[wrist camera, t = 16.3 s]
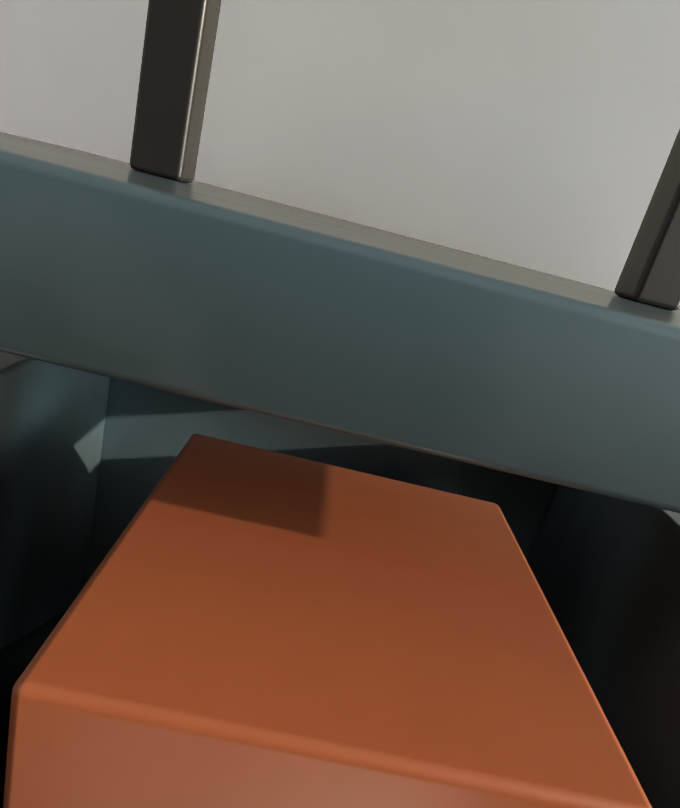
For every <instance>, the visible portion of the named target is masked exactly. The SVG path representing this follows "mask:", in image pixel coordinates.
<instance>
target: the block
mask: <svg viewBox="0 0 680 808" xmlns="http://www.w3.org/2000/svg"><path fill="white" fill-rule="evenodd" d="M3 808H652V807H651V805H650V803H649V801H648V799H647V797H646V795H645V793H644V791H643V789H642V787H641V785H640V783H639V781H638V779H637V777H636V775H635V773H634V771H633V769H632V767H631V765H630V763H629V761H628V759H627V757H626V755H625V753H624V751H623V749H622V747H621V745H620V743H619V742H618V740H617V738H616V736H615V734H614V732H613V730H612V728H611V726H610V724H609V722H608V720H607V718H606V716H605V714H604V712H603V710H602V708H601V706H600V704H599V702H598V700H597V698H596V696H595V694H594V692H593V690H592V688H591V686H590V684H589V682H588V680H587V678H586V677H585V675H584V673H583V671H582V669H581V667H580V665H579V663H578V661H577V659H576V657H575V655H574V653H573V651H572V649H571V647H570V645H569V643H568V641H567V639H566V637H565V635H564V633H563V631H562V629H561V627H560V625H559V623H558V621H557V619H556V617H555V615H554V613H553V612H552V610H551V608H550V606H549V604H548V602H547V600H546V598H545V596H544V594H543V592H542V590H541V588H540V586H539V584H538V582H537V580H536V578H535V576H534V574H533V572H532V570H531V568H530V566H529V564H528V562H527V560H526V558H525V556H524V554H523V552H522V550H521V548H520V547H519V545H518V543H517V541H516V539H515V537H514V535H513V533H512V531H511V529H510V527H509V525H508V523H507V521H506V519H505V517H504V515H503V513H502V511H501V509H500V507H499V506H498V505H497V504H495V503H492V502H487V501H483V500H479V499H475V498H470V497H466V496H462V495H457V494H453V493H449V492H445V491H440V490H436V489H432V488H428V487H423V486H419V485H415V484H410V483H406V482H402V481H398V480H393V479H389V478H385V477H380V476H376V475H372V474H368V473H363V472H359V471H355V470H351V469H346V468H342V467H338V466H333V465H329V464H325V463H321V462H316V461H312V460H308V459H303V458H299V457H295V456H291V455H286V454H282V453H278V452H274V451H269V450H265V449H261V448H256V447H252V446H248V445H244V444H239V443H235V442H231V441H226V440H222V439H218V438H214V437H209V436H205V435H201V434H193V435H192V436H191V437H190V439H189V440H188V441H187V443H186V444H185V446H184V447H183V448H182V450H181V451H180V453H179V454H178V456H177V457H176V458H175V460H174V461H173V463H172V464H171V465H170V467H169V468H168V470H167V471H166V472H165V474H164V475H163V477H162V478H161V479H160V481H159V482H158V484H157V485H156V486H155V488H154V489H153V491H152V492H151V493H150V495H149V496H148V498H147V499H146V500H145V502H144V503H143V505H142V506H141V507H140V509H139V510H138V512H137V513H136V514H135V516H134V517H133V519H132V520H131V521H130V523H129V524H128V526H127V527H126V528H125V530H124V531H123V533H122V534H121V535H120V537H119V538H118V540H117V541H116V543H115V544H114V545H113V547H112V548H111V550H110V551H109V552H108V554H107V555H106V557H105V558H104V559H103V561H102V562H101V564H100V565H99V566H98V568H97V569H96V571H95V572H94V573H93V575H92V576H91V578H90V579H89V580H88V582H87V583H86V585H85V586H84V587H83V589H82V590H81V592H80V593H79V594H78V596H77V597H76V599H75V600H74V601H73V603H72V604H71V606H70V607H69V608H68V610H67V611H66V613H65V614H64V615H63V617H62V618H61V620H60V621H59V623H58V624H57V625H56V627H55V628H54V630H53V631H52V632H51V634H50V635H49V637H48V638H47V639H46V641H45V642H44V644H43V645H42V646H41V648H40V649H39V651H38V652H37V653H36V655H35V656H34V658H33V659H32V660H31V662H30V663H29V665H28V666H27V667H26V669H25V670H24V672H23V673H22V674H21V676H20V677H19V679H18V680H17V681H16V683H15V684H14V686H13V690H12V696H11V709H10V722H9V735H8V749H7V762H6V775H5V788H4V802H3Z"/></svg>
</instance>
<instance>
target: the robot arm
mask: <svg viewBox="0 0 680 808" xmlns="http://www.w3.org/2000/svg"><path fill="white" fill-rule="evenodd" d="M67 610H68V609H67ZM67 610H65V611H64V612H62V613H61V614H59V615H57V616H56V617H54V618H52V619H51V620H49V621H47V622H46V623H44V624H42V625H41V626H39V627H37V628H36V629H34V630H32V631H31V632H29V633H27V634H26V635H24V636H22V637H21V638H19V639H17V640H16V641H14V642H12V643H11V644H9V645H7V646H6V647H4V648H2V649H1V650H0V808H3V802H4V788H5V775H6V762H7V749H8V735H9V722H10V709H11V696H12V690H13V686H14V684H15V683H16V681H17V680H18V679H19V677H20V676H21V674H22V673H23V672H24V670H25V669H26V667H27V666H28V665H29V663H30V662H31V660H32V659H33V658H34V656H35V655H36V653H37V652H38V651H39V649H40V648H41V646H42V645H43V644H44V642H45V641H46V639H47V638H48V637H49V635H50V634H51V632H52V631H53V630H54V628H55V627H56V625H57V624H58V623H59V621H60V620H61V618H62V617H63V615H64V614H65V613H66V611H67Z"/></svg>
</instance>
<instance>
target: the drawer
mask: <svg viewBox="0 0 680 808" xmlns="http://www.w3.org/2000/svg"><path fill="white" fill-rule="evenodd" d="M220 6H221V0H149V5H148V14H147V22H146V31H145V39H144V48H143V56H142V65H141V73H140V82H139V90H138V98H137V107H136V115H135V124H134V132H133V141H132V149H131V158H130V164H129V163H125V162H121V161H117V160H113V159H110V158H106V157H102V156H98V155H95V154H91V153H87V152H83V151H79V150H75V149H71V148H67V147H62V146H58V145H53V144H49V143H45V142H40V141H36V140H32V139H27V138H23V137H19V136H14V135H10V134H6V133H1V132H0V650H1V649H2V648H4V647H6V646H7V645H9V644H11V643H12V642H14V641H16V640H17V639H19V638H21V637H22V636H24V635H26V634H27V633H29V632H31V631H32V630H34V629H36V628H37V627H39V626H41V625H42V624H44V623H46V622H47V621H49V620H51V619H52V618H54V617H56V616H57V615H59V614H61V613H62V612H64V611H65V610H67V609H68V608H69V607H70V606H71V604H72V603H73V601H74V600H75V599H76V597H77V596H78V594H79V593H80V592H81V590H82V589H83V587H84V586H85V585H86V583H87V582H88V580H89V579H90V578H91V576H92V575H93V573H94V572H95V571H96V569H97V568H98V566H99V565H100V564H101V562H102V561H103V559H104V558H105V557H106V555H107V554H108V552H109V551H110V550H111V548H112V547H113V545H114V544H115V543H116V541H117V540H118V538H119V537H120V535H121V534H122V533H123V531H124V530H125V528H126V527H127V526H128V524H129V523H130V521H131V520H132V519H133V517H134V516H135V514H136V513H137V512H138V510H139V509H140V507H141V506H142V505H143V503H144V502H145V500H146V499H147V498H148V496H149V495H150V493H151V492H152V491H153V489H154V488H155V486H156V485H157V484H158V482H159V481H160V479H161V478H162V477H163V475H164V474H165V472H166V471H167V470H168V468H169V467H170V465H171V464H172V463H173V461H174V460H175V458H176V457H177V456H178V454H179V453H180V451H181V450H182V448H183V447H184V446H185V444H186V443H187V441H188V440H189V439H190V437H191V436H192V435H193V434H201V435H205V436H209V437H214V438H218V439H222V440H226V441H231V442H235V443H239V444H244V445H248V446H252V447H256V448H261V449H265V450H269V451H274V452H278V453H282V454H286V455H291V456H295V457H299V458H303V459H308V460H312V461H316V462H321V463H325V464H329V465H333V466H338V467H342V468H346V469H351V470H355V471H359V472H363V473H368V474H372V475H376V476H380V477H385V478H389V479H393V480H398V481H402V482H406V483H410V484H415V485H419V486H423V487H428V488H432V489H436V490H440V491H445V492H449V493H453V494H457V495H462V496H466V497H470V498H475V499H479V500H483V501H487V502H492V503H495V504H497V505H498V506H499V507H500V509H501V511H502V513H503V515H504V517H505V519H506V521H507V523H508V525H509V527H510V529H511V531H512V533H513V535H514V537H515V539H516V541H517V543H518V545H519V547H520V548H521V550H522V552H523V554H524V556H525V558H526V560H527V562H528V564H529V566H530V568H531V570H532V572H533V574H534V576H535V578H536V580H537V582H538V584H539V586H540V588H541V590H542V592H543V594H544V596H545V598H546V600H547V602H548V604H549V606H550V608H551V610H552V612H553V613H554V615H555V617H556V619H557V621H558V623H559V625H560V627H561V629H562V631H563V633H564V635H565V637H566V639H567V641H568V643H569V645H570V647H571V649H572V651H573V653H574V655H575V657H576V659H577V661H578V663H579V665H580V667H581V669H582V671H583V673H584V675H585V677H586V678H587V680H588V682H589V684H590V686H591V688H592V690H593V692H594V694H595V696H596V698H597V700H598V702H599V704H600V706H601V708H602V710H603V712H604V714H605V716H606V718H607V720H608V722H609V724H610V726H611V728H612V730H613V732H614V734H615V736H616V738H617V740H618V742H619V743H620V745H621V747H622V749H623V751H624V753H625V755H626V757H627V759H628V761H629V763H630V765H631V767H632V769H633V771H634V773H635V775H636V777H637V779H638V781H639V783H640V785H641V787H642V789H643V791H644V793H645V795H646V797H647V799H648V801H649V803H650V805H651V807H652V808H680V309H679V307H680V130H679V132H678V135H677V137H676V140H675V142H674V144H673V147H672V149H671V152H670V154H669V157H668V159H667V162H666V164H665V167H664V169H663V172H662V174H661V177H660V179H659V182H658V184H657V187H656V189H655V191H654V194H653V196H652V199H651V201H650V204H649V206H648V209H647V211H646V214H645V216H644V219H643V221H642V224H641V226H640V229H639V231H638V234H637V236H636V238H635V241H634V243H633V246H632V248H631V251H630V253H629V256H628V258H627V261H626V263H625V266H624V268H623V271H622V273H621V276H620V278H619V281H618V283H617V285H616V288H615V291H611V290H607V289H603V288H600V287H596V286H592V285H588V284H584V283H581V282H577V281H573V280H569V279H565V278H562V277H558V276H554V275H550V274H546V273H543V272H539V271H535V270H531V269H527V268H524V267H520V266H516V265H512V264H508V263H505V262H501V261H497V260H493V259H489V258H486V257H482V256H478V255H474V254H470V253H467V252H463V251H459V250H455V249H451V248H448V247H444V246H440V245H436V244H432V243H429V242H425V241H421V240H417V239H413V238H410V237H406V236H402V235H398V234H394V233H391V232H387V231H383V230H379V229H376V228H372V227H368V226H364V225H360V224H357V223H353V222H349V221H345V220H341V219H338V218H334V217H330V216H326V215H322V214H319V213H315V212H311V211H307V210H303V209H300V208H296V207H292V206H288V205H284V204H281V203H277V202H273V201H269V200H265V199H262V198H258V197H254V196H250V195H246V194H243V193H239V192H235V191H231V190H227V189H224V188H220V187H216V186H212V185H208V184H205V183H201V182H197V181H193V180H194V175H195V168H196V162H197V155H198V149H199V142H200V136H201V129H202V123H203V116H204V110H205V103H206V97H207V90H208V84H209V77H210V71H211V64H212V58H213V51H214V45H215V38H216V32H217V25H218V19H219V12H220Z"/></svg>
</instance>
